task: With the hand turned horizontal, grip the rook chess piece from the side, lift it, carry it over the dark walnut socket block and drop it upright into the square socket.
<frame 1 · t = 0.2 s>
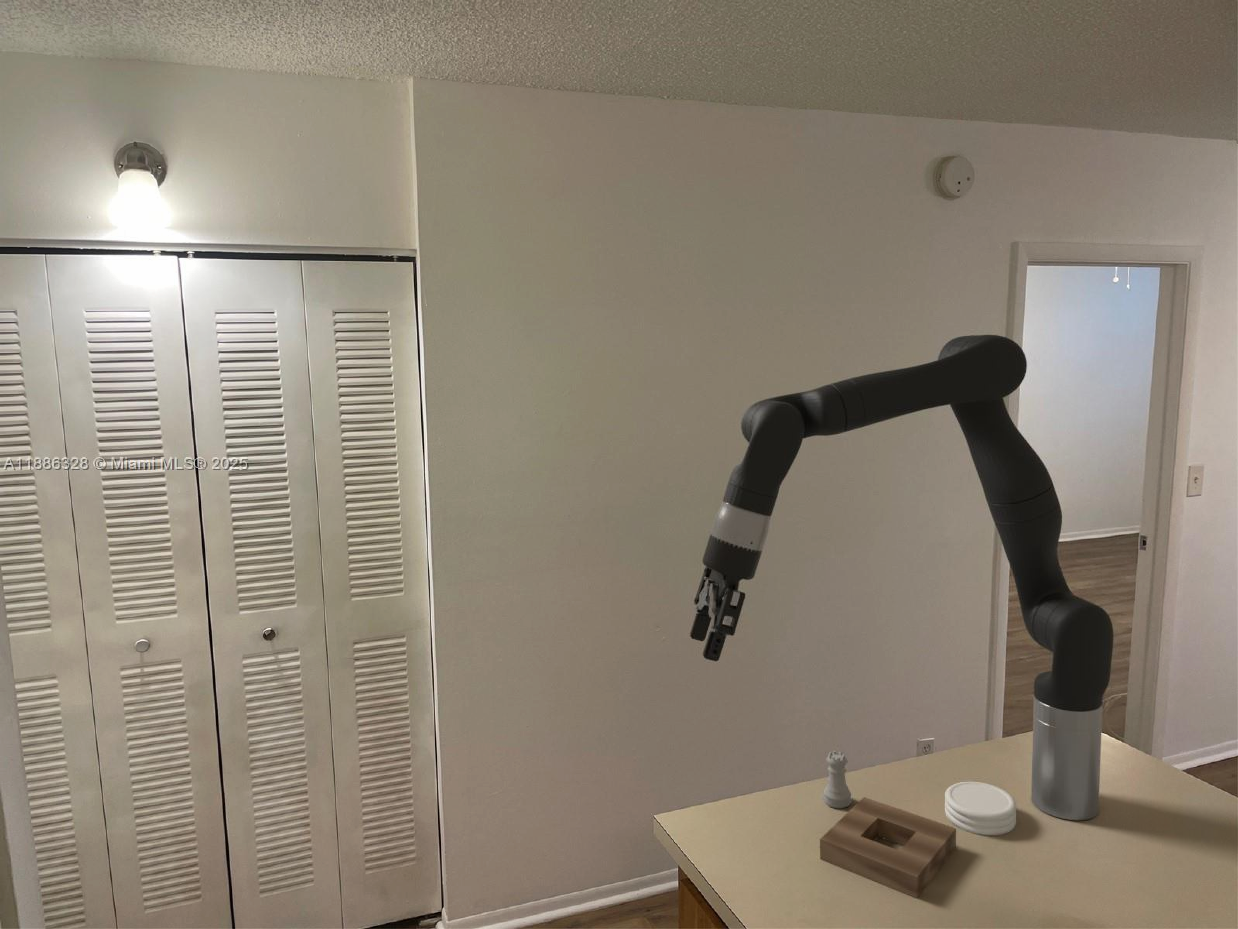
hand: (703, 649, 118), 31 cm above the kitchen counter, tool tilted 20°, fingers open, 8 cm apart
coaster: (979, 819, 128), on the kitchen counter
rook chess piece: (837, 803, 133), on the kitchen counter
socket block: (888, 853, 120), on the kitchen counter
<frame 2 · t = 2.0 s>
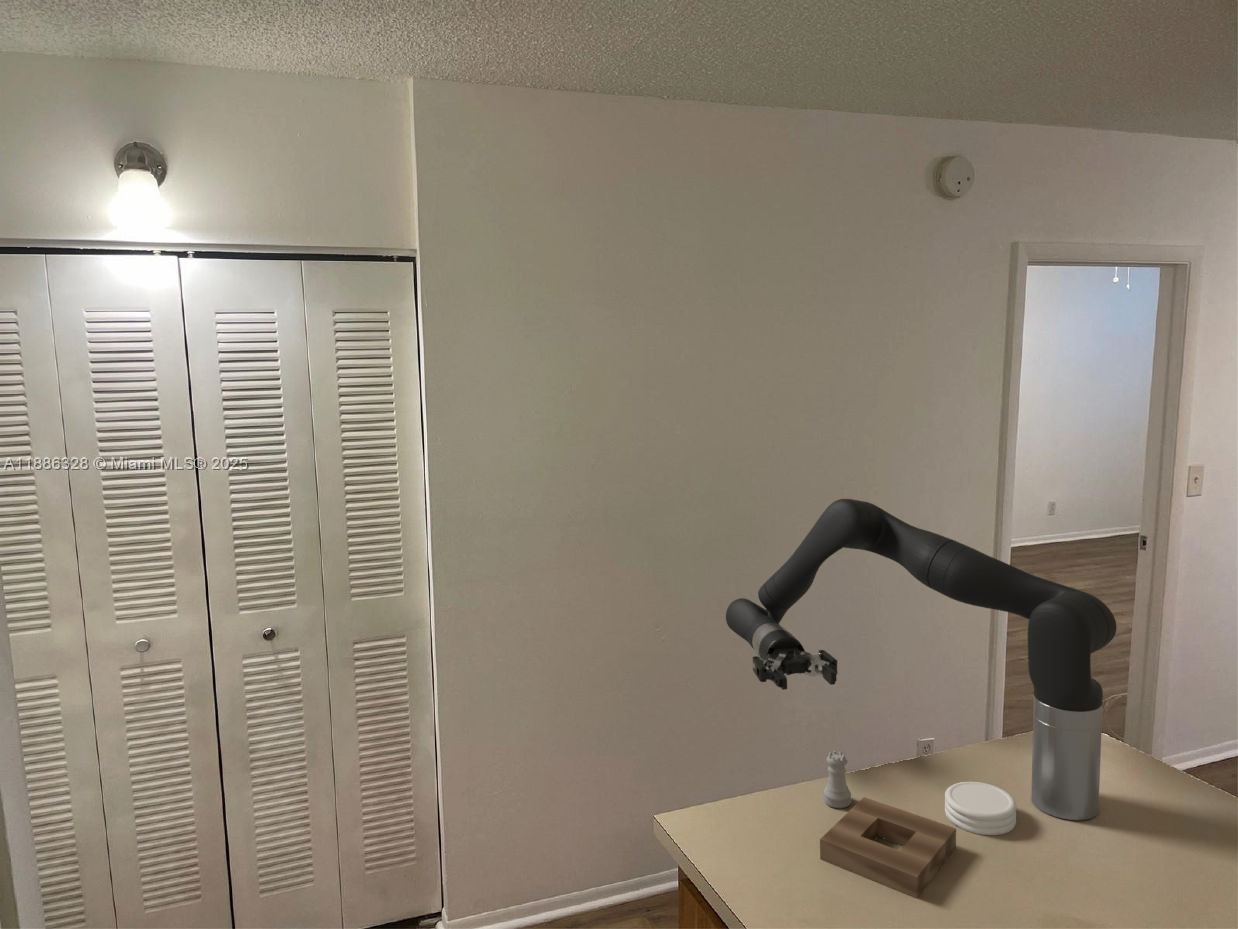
hand: (809, 681, 142), 16 cm above the kitchen counter, tool horizontal, fingers open, 8 cm apart
nothing on the kitchen counter moved.
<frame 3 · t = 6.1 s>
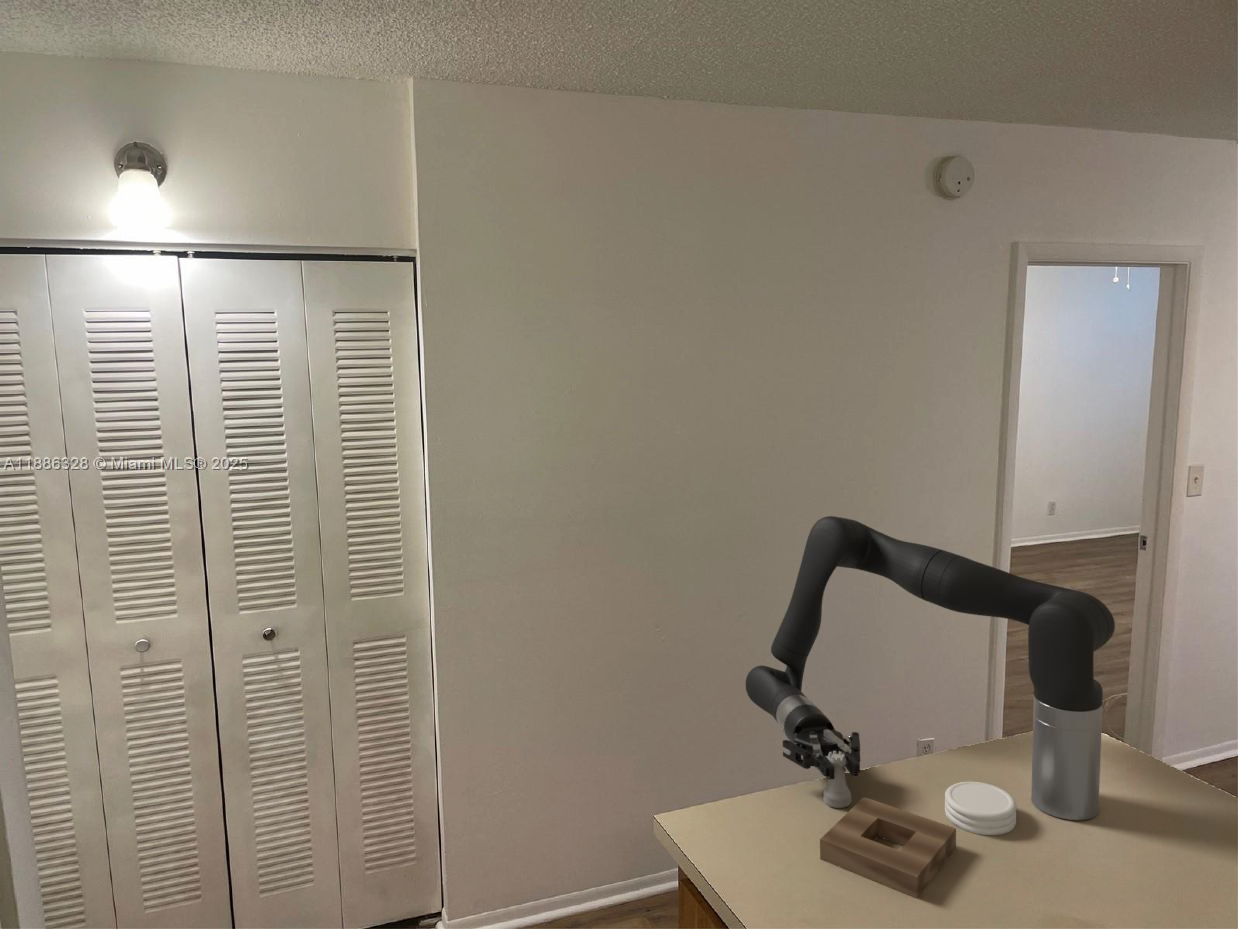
hand: (844, 772, 130), 7 cm above the kitchen counter, tool horizontal, fingers closed on rook chess piece, 3 cm apart
rook chess piece: (837, 803, 133), on the kitchen counter, touching gripper
everything else where it was.
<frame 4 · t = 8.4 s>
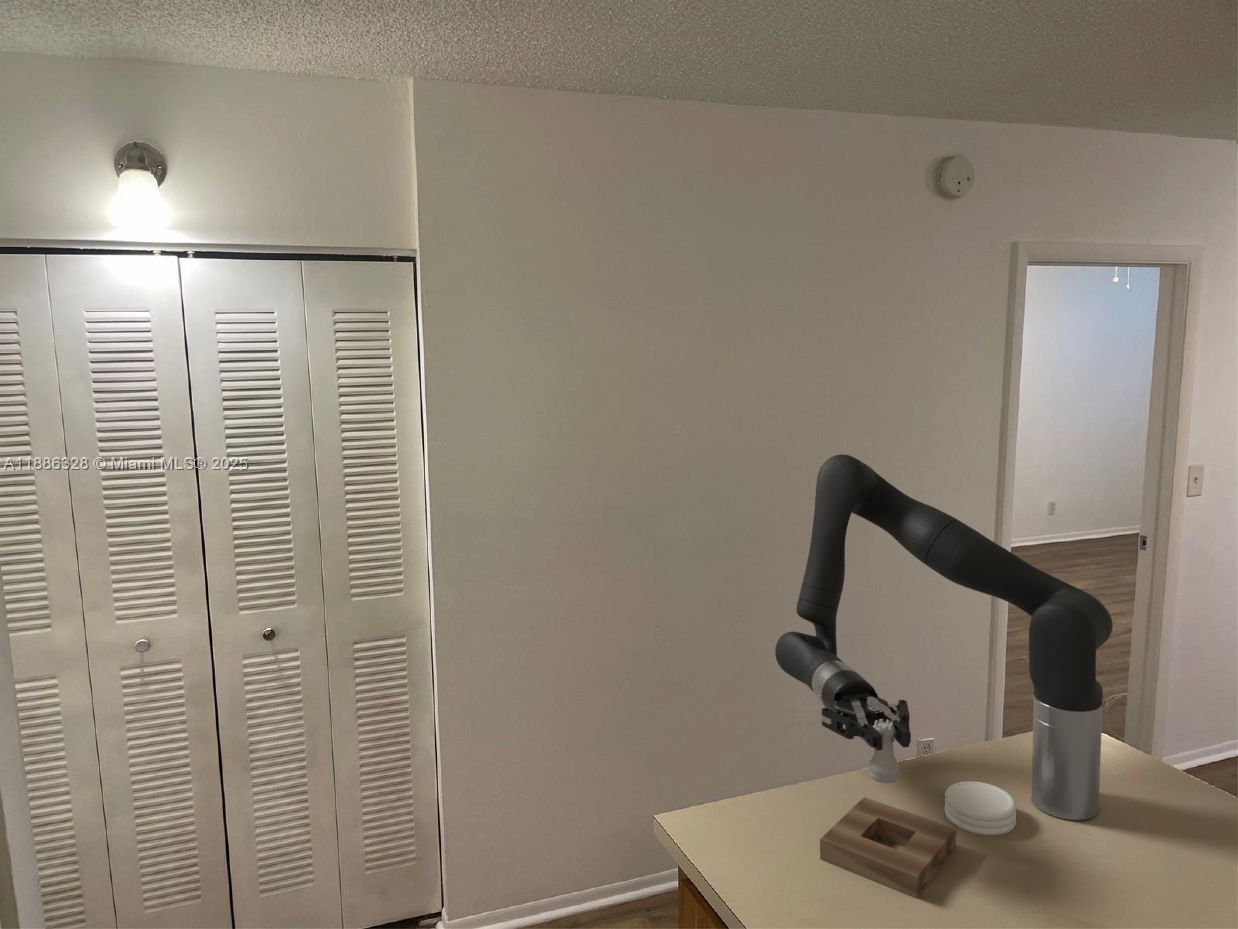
hand: (893, 742, 115), 18 cm above the kitchen counter, tool horizontal, fingers closed on rook chess piece, 3 cm apart
rook chess piece: (884, 777, 119), point 11 cm above the kitchen counter, touching gripper
everything else where it was.
when the fingers open (9 cm above the kitchen counter, at t = 11.0 s): rook chess piece drops 2 cm, resting in socket block.
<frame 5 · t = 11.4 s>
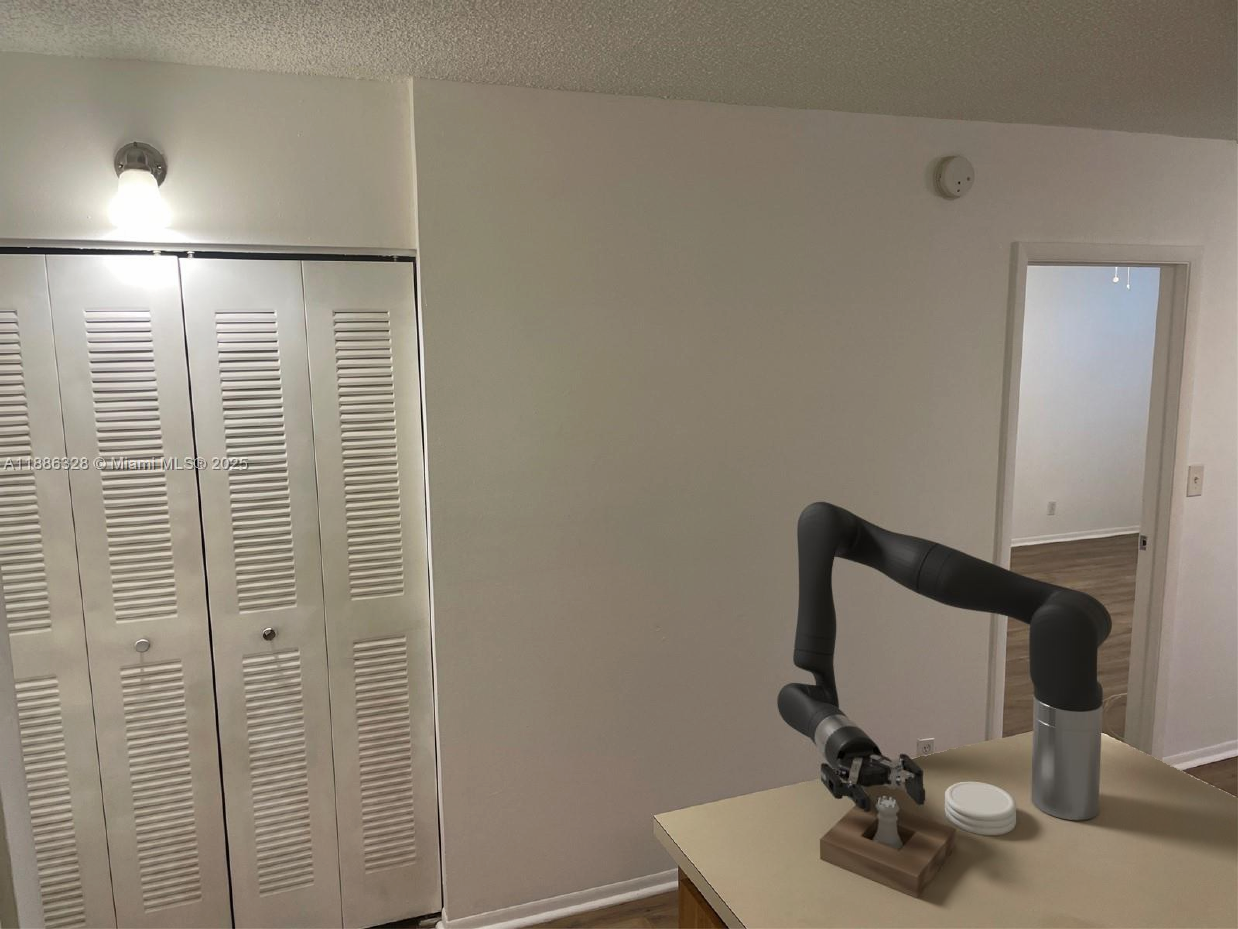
hand: (895, 802, 116), 9 cm above the kitchen counter, tool horizontal, fingers open, 7 cm apart
rook chess piece: (887, 854, 120), resting in socket block
everything else where it was.
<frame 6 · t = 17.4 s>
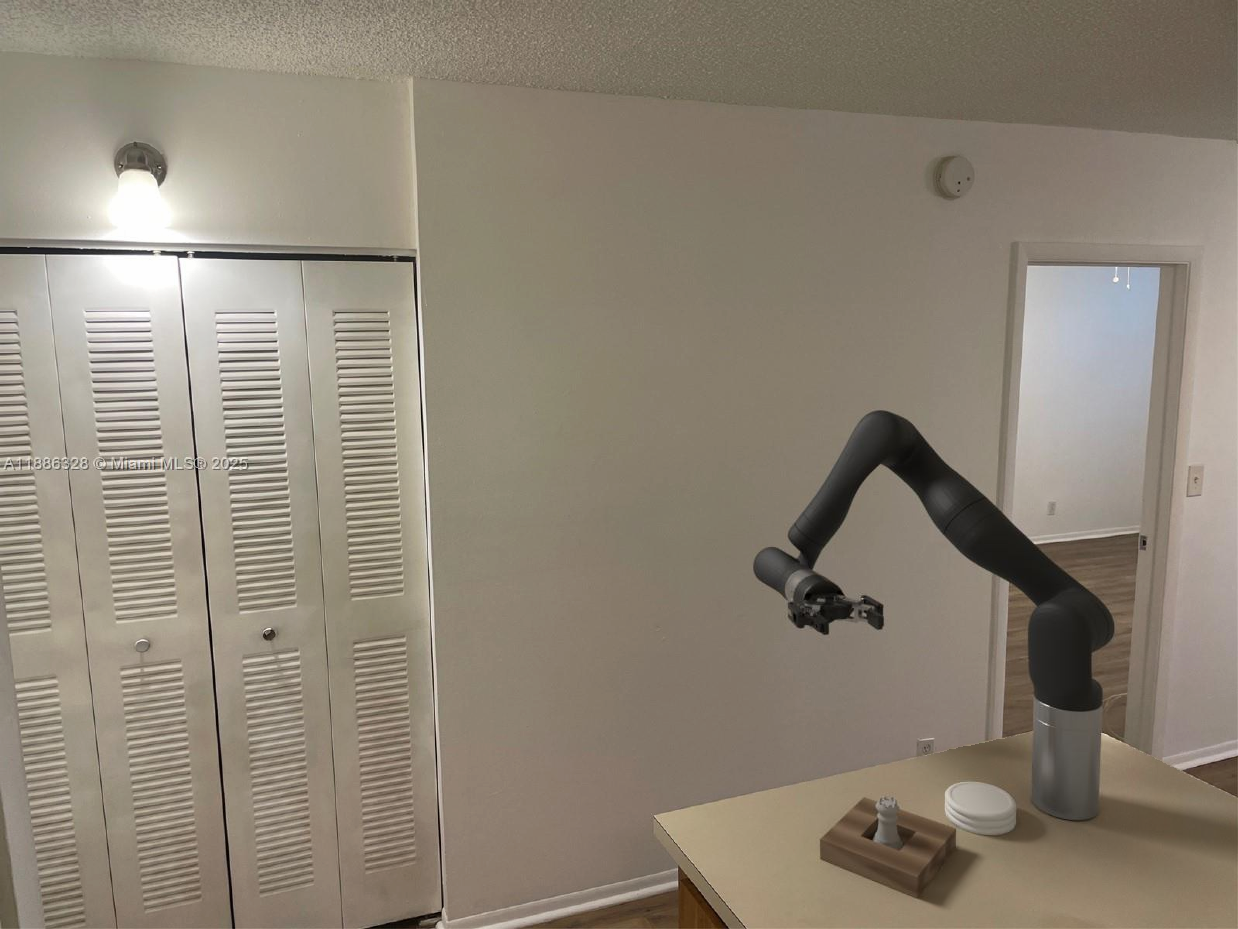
hand: (853, 626, 126), 30 cm above the kitchen counter, tool horizontal, fingers open, 8 cm apart
nothing on the kitchen counter moved.
at the end: rook chess piece 0.1 cm off-centre on the socket block, point 0.0 cm above the socket block's base; rook chess piece tilted 0°; the gripper is holding nothing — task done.
